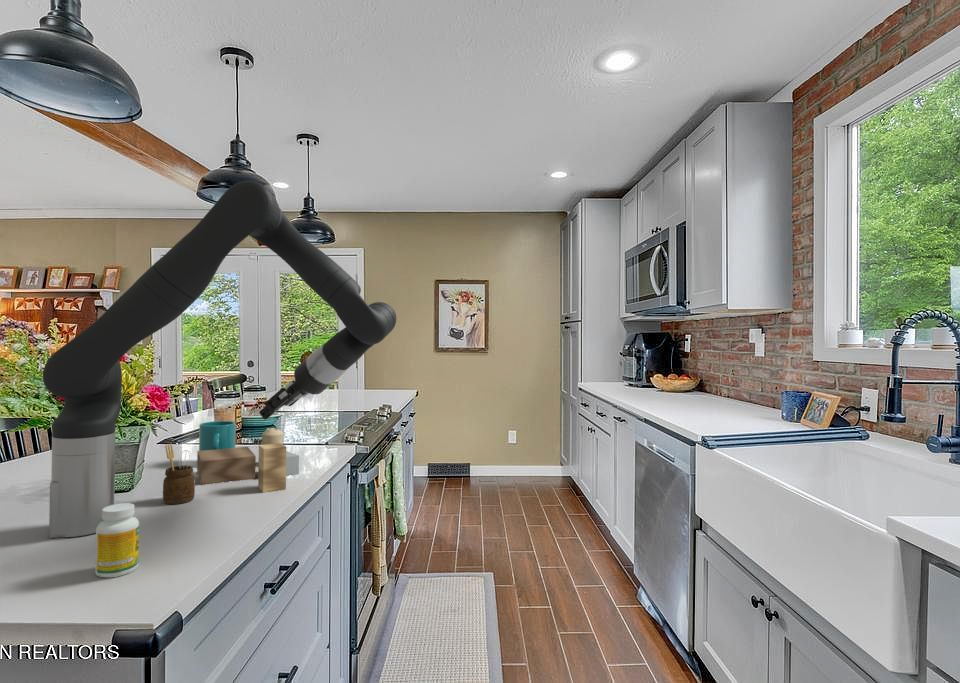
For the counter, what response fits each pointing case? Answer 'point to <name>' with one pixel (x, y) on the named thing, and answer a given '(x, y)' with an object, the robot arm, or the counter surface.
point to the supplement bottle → (117, 541)
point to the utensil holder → (178, 481)
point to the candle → (272, 436)
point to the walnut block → (225, 465)
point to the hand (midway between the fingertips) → (275, 409)
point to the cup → (217, 435)
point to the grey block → (292, 464)
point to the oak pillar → (272, 467)
